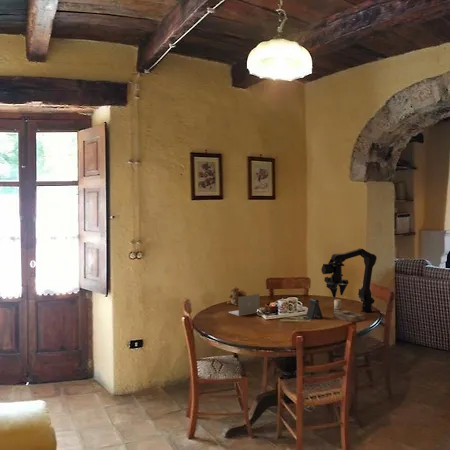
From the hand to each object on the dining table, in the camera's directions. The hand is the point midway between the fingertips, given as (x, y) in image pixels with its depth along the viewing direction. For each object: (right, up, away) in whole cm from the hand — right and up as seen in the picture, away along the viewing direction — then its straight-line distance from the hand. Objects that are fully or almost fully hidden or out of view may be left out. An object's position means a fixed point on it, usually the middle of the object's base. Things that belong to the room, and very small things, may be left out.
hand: (337, 296), depth 326 cm
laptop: (-62, -13, +11) cm, 65 cm away
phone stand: (-17, -13, -7) cm, 22 cm away
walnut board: (+5, -13, -11) cm, 17 cm away
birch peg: (+1, -12, +3) cm, 12 cm away
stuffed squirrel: (-66, -12, +40) cm, 78 cm away
